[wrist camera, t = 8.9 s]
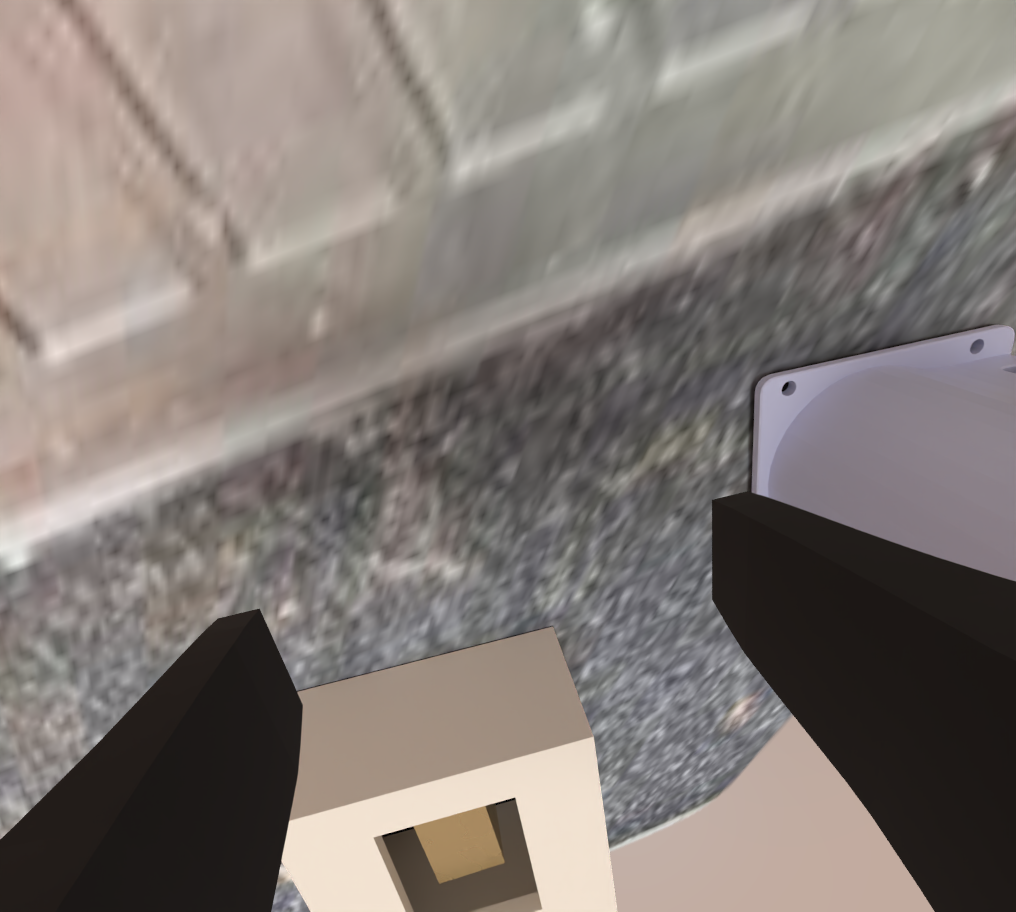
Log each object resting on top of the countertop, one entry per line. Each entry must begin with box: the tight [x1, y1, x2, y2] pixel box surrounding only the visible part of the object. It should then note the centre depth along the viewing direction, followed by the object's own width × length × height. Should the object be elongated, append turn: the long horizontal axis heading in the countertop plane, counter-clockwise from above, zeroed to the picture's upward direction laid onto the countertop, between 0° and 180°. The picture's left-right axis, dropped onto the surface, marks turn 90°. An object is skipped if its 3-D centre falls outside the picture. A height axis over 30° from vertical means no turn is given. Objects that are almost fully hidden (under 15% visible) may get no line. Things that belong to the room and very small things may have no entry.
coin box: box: [281, 627, 617, 912], centre depth 21 cm, size 10×10×5 cm
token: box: [413, 803, 505, 884], centre depth 21 cm, size 2×4×4 cm, turn 12°
